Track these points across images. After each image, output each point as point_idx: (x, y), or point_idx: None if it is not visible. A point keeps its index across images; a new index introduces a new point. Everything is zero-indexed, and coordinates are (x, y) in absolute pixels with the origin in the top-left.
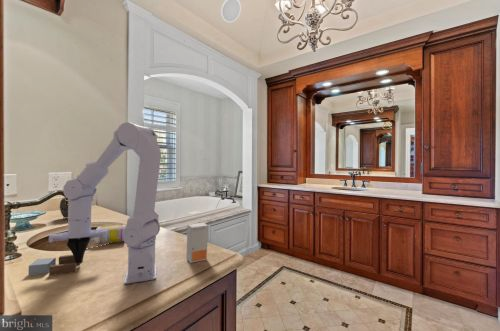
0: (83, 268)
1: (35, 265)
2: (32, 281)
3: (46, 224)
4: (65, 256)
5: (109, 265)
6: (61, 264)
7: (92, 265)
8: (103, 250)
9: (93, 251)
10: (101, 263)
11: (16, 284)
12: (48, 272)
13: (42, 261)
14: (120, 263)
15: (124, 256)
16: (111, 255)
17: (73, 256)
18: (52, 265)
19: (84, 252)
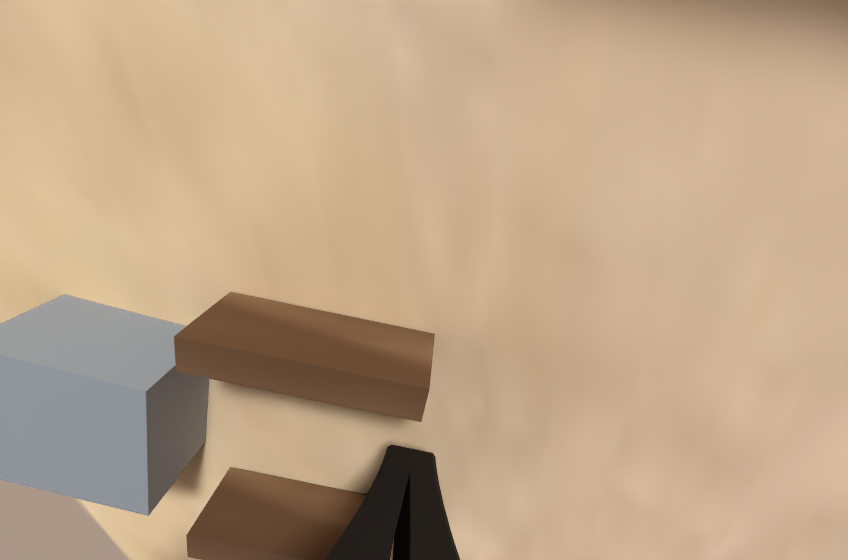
0: (445, 486)
1: (49, 488)
2: (158, 509)
3: None
4: (244, 385)
5: (635, 532)
6: (269, 557)
7: (513, 469)
8: (713, 50)
9: (571, 15)
10: (587, 468)
11: (81, 501)
12: (203, 442)
13: (60, 440)
14: (724, 541)
15: (834, 422)
16: (733, 323)
17: (332, 395)
18: (200, 539)
19: (447, 531)
